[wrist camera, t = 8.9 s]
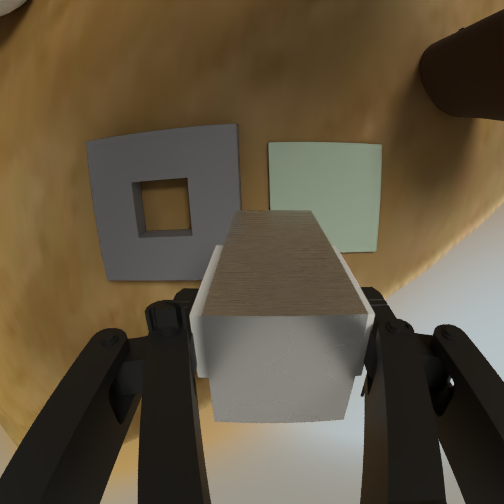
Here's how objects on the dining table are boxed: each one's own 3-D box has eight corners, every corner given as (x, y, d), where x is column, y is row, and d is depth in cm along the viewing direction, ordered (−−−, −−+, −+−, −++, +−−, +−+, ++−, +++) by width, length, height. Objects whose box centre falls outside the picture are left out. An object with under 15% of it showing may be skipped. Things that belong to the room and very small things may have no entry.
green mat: (268, 142, 32) (268, 142, 31) (380, 144, 31) (381, 144, 31) (271, 252, 36) (271, 254, 35) (374, 249, 35) (376, 251, 35)
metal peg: (235, 210, 19) (201, 315, 8) (310, 210, 19) (368, 313, 8) (237, 278, 21) (215, 421, 10) (307, 278, 21) (343, 419, 10)
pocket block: (97, 140, 32) (86, 141, 29) (238, 124, 31) (236, 123, 29) (115, 271, 37) (107, 280, 35) (244, 269, 37) (243, 279, 34)
